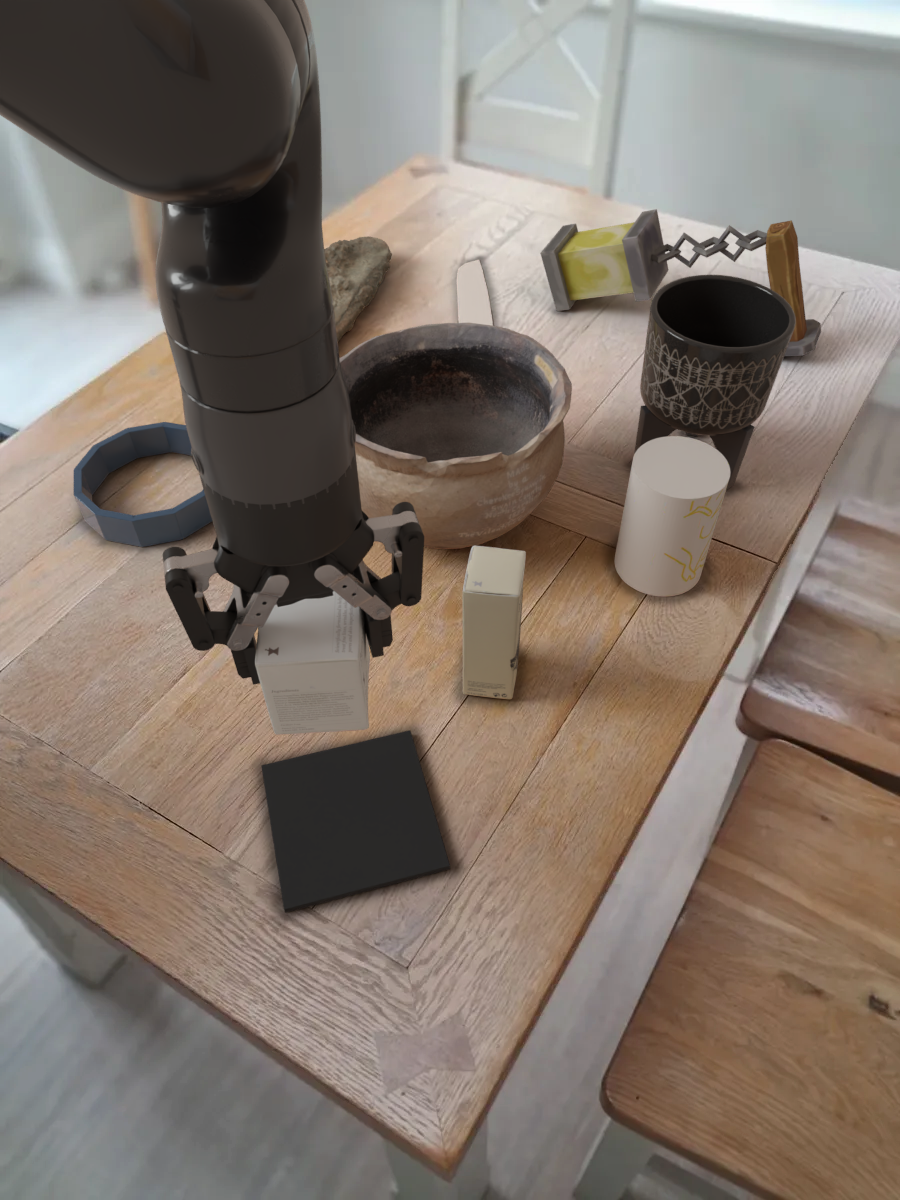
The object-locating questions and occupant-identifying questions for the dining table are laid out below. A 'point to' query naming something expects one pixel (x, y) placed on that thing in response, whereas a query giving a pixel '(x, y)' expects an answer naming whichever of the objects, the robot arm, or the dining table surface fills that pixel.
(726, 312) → the planter
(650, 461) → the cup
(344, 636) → the product carton
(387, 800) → the coaster
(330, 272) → the long grey stone
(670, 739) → the dining table surface
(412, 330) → the ceramic bowl
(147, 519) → the faceted polygonal ring
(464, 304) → the knife
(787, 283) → the lantern
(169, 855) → the dining table surface
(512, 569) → the box
